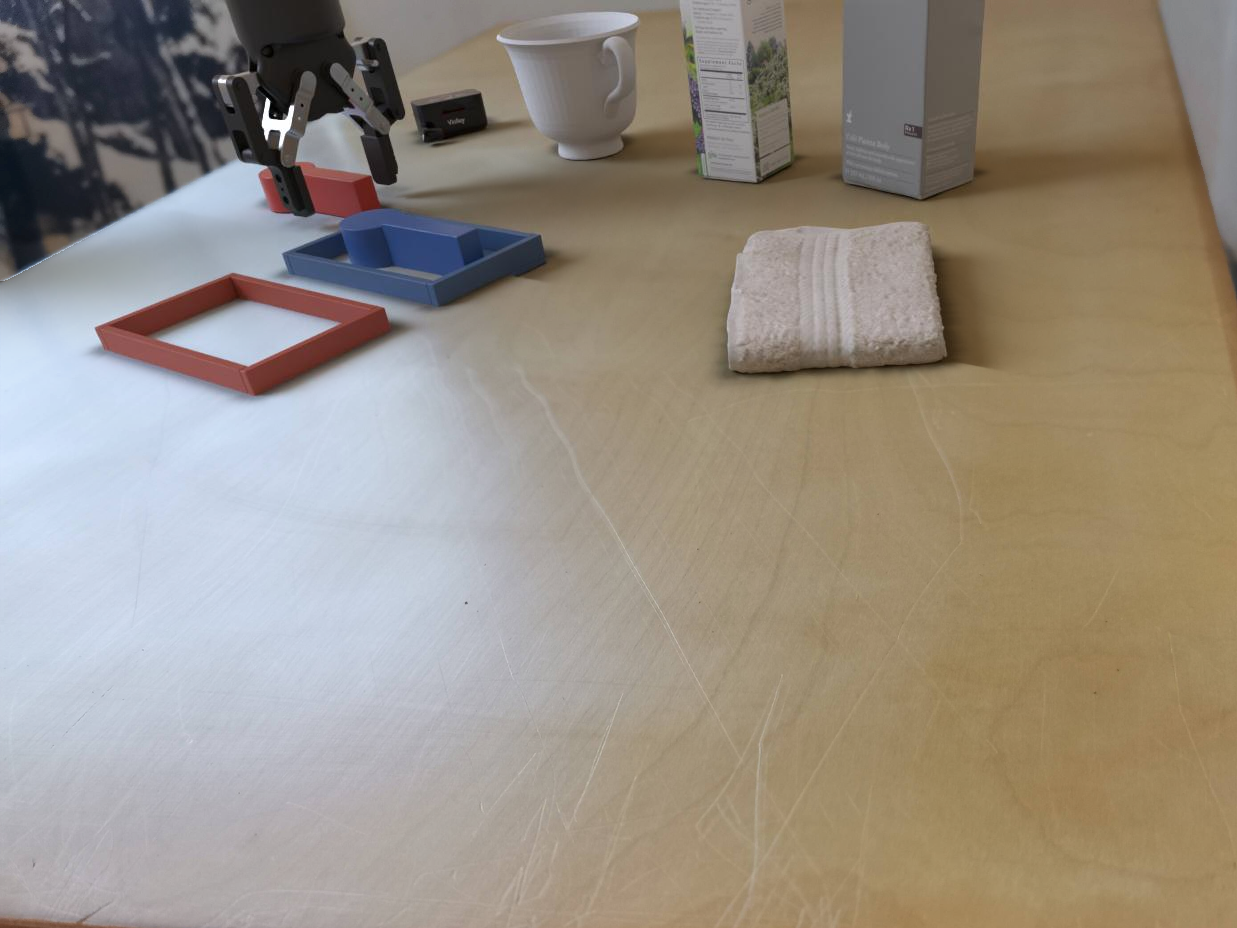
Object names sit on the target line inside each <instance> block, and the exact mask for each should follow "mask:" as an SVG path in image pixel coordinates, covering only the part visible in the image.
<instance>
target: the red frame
mask: <svg viewBox="0 0 1237 928" xmlns="http://www.w3.org/2000/svg"><path fill="white" fill-rule="evenodd" d="M238 298H239V299H242V300H246V301H250V302H254V303H259V304H263V305H266V306H267V305H268V306H271V307H275V308H278V309H279V308H280V309H282V310H283V309H284V310H286V311H292V312H295V313H299V314H304V315H308V316H312V317H317V318H320V319H325V320H328V321H331V322H332V321H333V322H336V323H339V324H337V325H335V326H333V327H330V328H328V329H326V330H324V331H322V332H319V333H317V334H315V335H313V336H311V337H309V338H307V339H305V340H302V341H300V342H298V343H296V344H294V345H292V346H289V347H287V348H285V349H283V350H281V351H278V352H276V353H274V354H272V355H270V356H268V357H266V358H264V359H261V360H259V361H257V362H255V363H252V364H251V365H248V366H247V365H245V364H242V363H238V362H235V361H231V360H228V359H224V358H220V357H218V356H214V355H211V354H207V353H204V352H200V351H196V350H194V349H190V348H186V347H183V346H180V345H176V344H172V343H169V342H166V341H162V340H159V339H156V338H152V337H148V336H149V335H151V334H154V333H157V332H159V331H162V330H164V329H166V328H170V327H171V326H173V325H176V324H179V323H181V322H183V321H186V320H188V319H191V318H193V317H195V316H197V315H200V314H202V313H205V312H207V311H210V310H212V309H215V308H217V307H219V306H222V305H224V304H227V303H229V302H231V301H233V300H236V299H238ZM94 330H95V332H96V335H97V336H98V339H99V341H100V343H101V345H102V347H103V349H104V350H105V351H108V352H111V353H115V354H118V355H121V356H124V357H126V358H127V357H128V358H131V359H134V360H137V361H141V362H144V363H148V364H150V365H152V366H153V365H154V366H156V367H159V368H163V369H166V370H169V371H173V372H176V373H179V374H181V375H186V376H189V377H192V378H195V379H198V380H202V381H205V382H209V383H212V384H214V385H217V386H221V387H224V388H228V389H231V390H233V391H237V392H240V393H243V394H246V395H250V396H254V397H256V396H258V395H260V394H262V393H264V392H266V391H268V390H270V389H272V388H274V387H277V386H279V385H281V384H283V383H285V382H287V381H289V380H292V379H293V378H295V377H298V376H299V375H301V374H303V373H305V372H307V371H309V370H312V369H314V368H316V367H318V366H320V365H322V364H324V363H326V362H329V361H331V360H332V359H334V358H336V357H338V356H340V355H343V354H345V353H347V352H349V351H351V350H353V349H355V348H357V347H360V346H361V345H364V344H365V343H367V342H369V341H371V340H374V339H375V338H378V337H380V336H381V335H384V334H386V333H388V332H390V331H392V327H391V323H390V321H389V318H388V314H387V311H386V308H385V307H384V306H378V305H375V304H370V303H366V302H362V301H357V300H353V299H349V298H344V297H339V296H337V295H331V294H326V293H322V292H318V291H313V290H310V289H305V288H301V287H296V286H292V285H288V284H283V283H279V282H275V281H270V280H266V279H261V278H258V277H253V276H249V275H245V274H239V273H236V272H231V273H229V274H225V275H222V276H220V277H218V278H215V279H213V280H210V281H208V282H205V283H203V284H200V285H197V286H195V287H193V288H191V289H187V290H186V291H183V292H180V293H177V294H175V295H173V296H170V297H167V298H165V299H163V300H160V301H158V302H155V303H153V304H150V305H147V306H144V307H142V308H140V309H137V310H135V311H132V312H129V313H127V314H125V315H123V316H122V315H121V316H119V317H117V318H115V319H112V320H110V321H107V322H105V323H102V324H100V325H97V326H95V327H94Z"/></svg>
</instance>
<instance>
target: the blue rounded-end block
mask: <svg viewBox="0 0 1237 928" xmlns="http://www.w3.org/2000/svg"><path fill="white" fill-rule="evenodd" d="M404 212H405V211H403V210H400V209H397V208H381V209H375V210H369V211H364V212H360V213H357V214H354V215H351V216H349V217H347V218H346V217H344V218H343V219H342V220H341V221H340V222H339V223H338V227H339V230H341V233H342V236H343V239H344V242H345V245H346V249H347V255H348V258H349V261H350V264H355V265H360V266H365V267H370V268H375V269H384V268H389V267H392V266H393V267H398V268H402V269H408V270H411V271H417V272H422V273H428V274H433V275H437V276H441V277H442V276H444V275H447V274H449V273H451V272H453V271H455V270H457V269H460V268H462V267H464V266H466V265H468V264H470V263H473V262H475V261H477V260H479V259H481V258H483V257H484V254H483V250H482V246H481V242H480V238H479V234H478V230H477V228H472V227H466V226H460V225H454V224H448V223H442V222H436V221H430V220H424V219H418V218H413V217H407V216H405V214H404Z"/></svg>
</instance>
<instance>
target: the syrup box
mask: <svg viewBox="0 0 1237 928" xmlns="http://www.w3.org/2000/svg"><path fill="white" fill-rule="evenodd" d="M678 1H679V8H680V9H679V10H680V20H681V27H682V35H683V36H682V37H683V45H684V54H685V55H684V56H685V62H686V71H687V79H688V80H687V81H688V88H689V89H688V90H689V98H690V105H691V115H692V123H693V130H694V131H693V132H694V140H695V151H696V157H697V158H696V159H697V168H698V175H699V176H700V177H701V178H704V179H705V178H706V179H715V180H722V181H732V182H733V181H734V182H746V183H755V184H756V183H759V182H761V181H764V180H765V179H767V178H768V177H770V176H772V175H775V173H778V172H780V171H782V170H783V169H786V168H787V167H789V166H791V165H792V164H794V162H795V155H794V153H795V151H794V138H793V123H792V122H793V121H792V107H791V92H790V77H789V75H790V74H789V59H788V58H789V57H788V44H787V28H786V15H785V0H678Z"/></svg>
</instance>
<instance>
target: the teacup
mask: <svg viewBox="0 0 1237 928" xmlns="http://www.w3.org/2000/svg"><path fill="white" fill-rule="evenodd" d="M641 24H642V19H640V17H638V16H637V15H635V14H633V13H628V12H621V11H589V12H588V11H587V12H576V13H566V14H557V15H551V16H544V17H539V18H534V19H531V20H530V19H529V20H525V21H521V22H518V23H514V24H512V25H509V26H506V27H504V28H502V29H501V30H499V32H498V34H497V36H496V40H497V42H499V43H500V44H501V45H503V46H504V48H505V50H506V51H507V53H508V55H509V57H510V61H511V63H512V66H513V69H514V71H515V75H516V77H517V81H518V83H519V87H520V90H521V94H522V96H523V99H524V102H525V106H526V108H527V110H528V113H529V116H530V118H531V120H532V122H533V124H534V126H535V127H536V129H537V130H538V132H540V133H541V134H542V135H543V136H545V137H546V138H548V139H549V140H552V141H554V142H556V143H557V145H558V151H557V152H558V156H560V157H561V158H562V159H565V160H571V161H572V160H573V161H586V160H595V159H601V158H607V157H609V156H612V155H615V154H617V153H619V152H621V151H622V150H623V148H624V142H623V140H622V136H621V134H622V133H623V132H625V131H626V130H627V129H628V128H629V127H630V125H631V124H632V123H633V121H634V119H635V117H636V116H635V115H636V111H637V100H638V99H637V98H638V97H637V96H638V91H637V65H636V37H637V32H638V28H639V27H640V26H641Z"/></svg>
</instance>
